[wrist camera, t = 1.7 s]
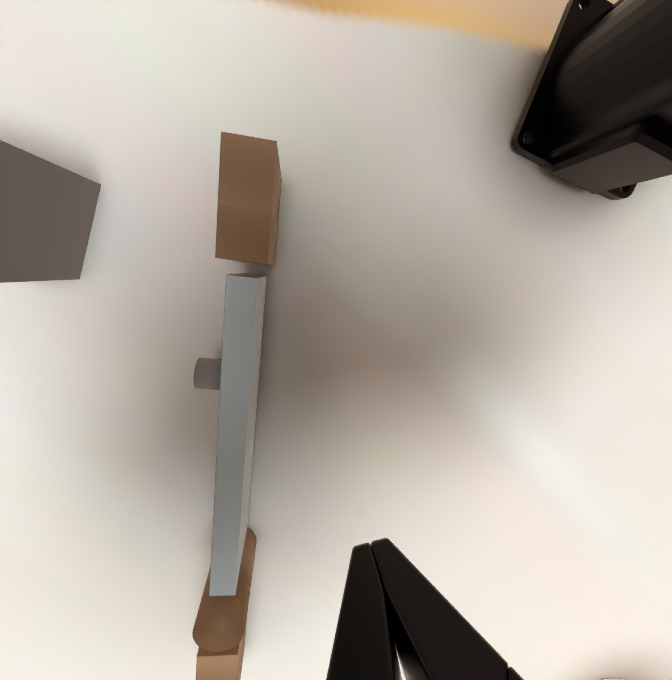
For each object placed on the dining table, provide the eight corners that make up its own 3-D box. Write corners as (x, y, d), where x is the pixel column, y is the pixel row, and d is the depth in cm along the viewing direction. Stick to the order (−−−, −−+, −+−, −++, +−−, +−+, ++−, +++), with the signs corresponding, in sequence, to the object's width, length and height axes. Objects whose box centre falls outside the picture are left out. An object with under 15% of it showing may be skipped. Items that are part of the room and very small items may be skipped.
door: (248, 522, 17) (235, 595, 13) (203, 522, 17) (177, 596, 13) (266, 275, 15) (257, 278, 11) (215, 270, 15) (187, 270, 11)
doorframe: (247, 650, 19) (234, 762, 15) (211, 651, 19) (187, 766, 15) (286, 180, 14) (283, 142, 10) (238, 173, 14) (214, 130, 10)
